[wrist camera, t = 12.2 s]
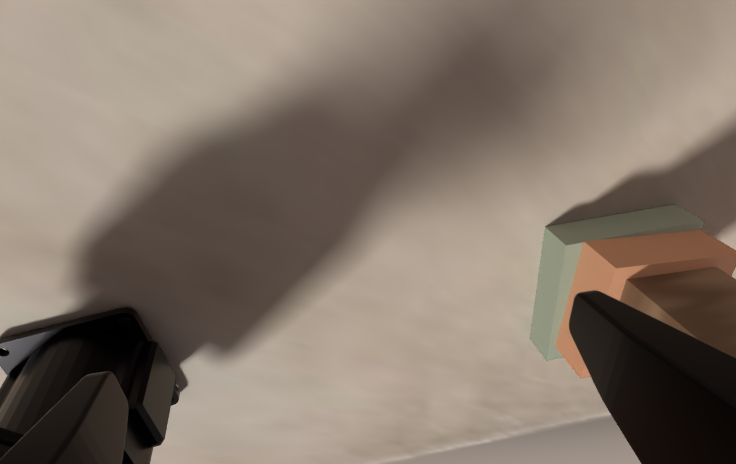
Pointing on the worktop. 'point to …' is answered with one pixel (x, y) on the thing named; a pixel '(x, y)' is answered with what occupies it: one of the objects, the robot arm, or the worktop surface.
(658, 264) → the tower top
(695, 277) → the walnut block
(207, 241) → the worktop surface
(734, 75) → the worktop surface
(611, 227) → the tower base
